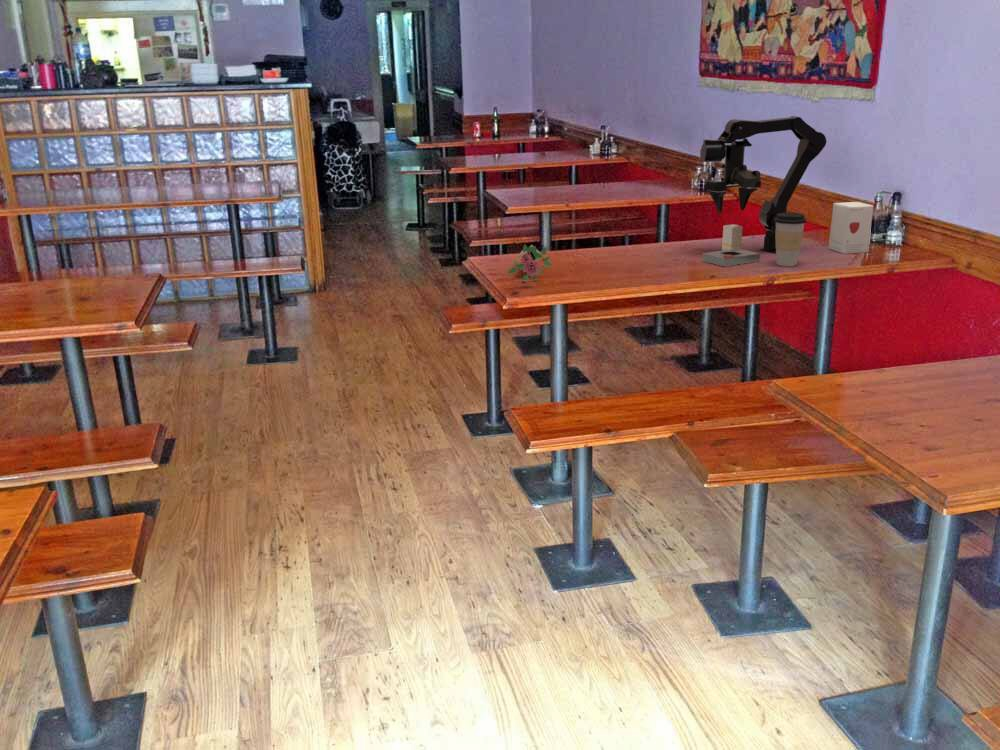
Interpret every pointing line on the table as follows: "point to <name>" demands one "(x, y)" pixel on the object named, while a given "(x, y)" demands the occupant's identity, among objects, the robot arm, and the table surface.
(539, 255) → the flower vase
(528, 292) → the table surface
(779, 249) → the coffee cup
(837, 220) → the supplement box
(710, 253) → the sleeve block
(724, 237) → the post
